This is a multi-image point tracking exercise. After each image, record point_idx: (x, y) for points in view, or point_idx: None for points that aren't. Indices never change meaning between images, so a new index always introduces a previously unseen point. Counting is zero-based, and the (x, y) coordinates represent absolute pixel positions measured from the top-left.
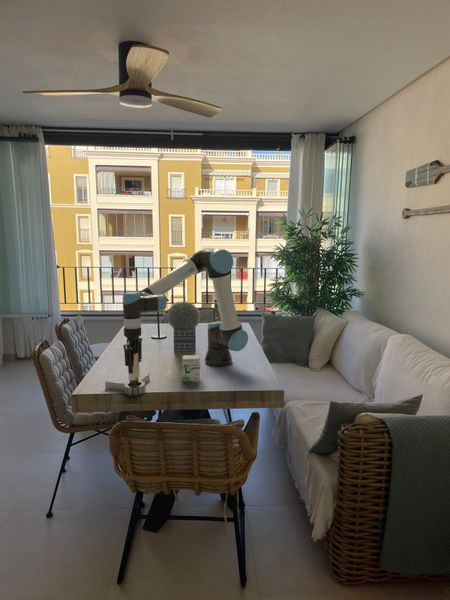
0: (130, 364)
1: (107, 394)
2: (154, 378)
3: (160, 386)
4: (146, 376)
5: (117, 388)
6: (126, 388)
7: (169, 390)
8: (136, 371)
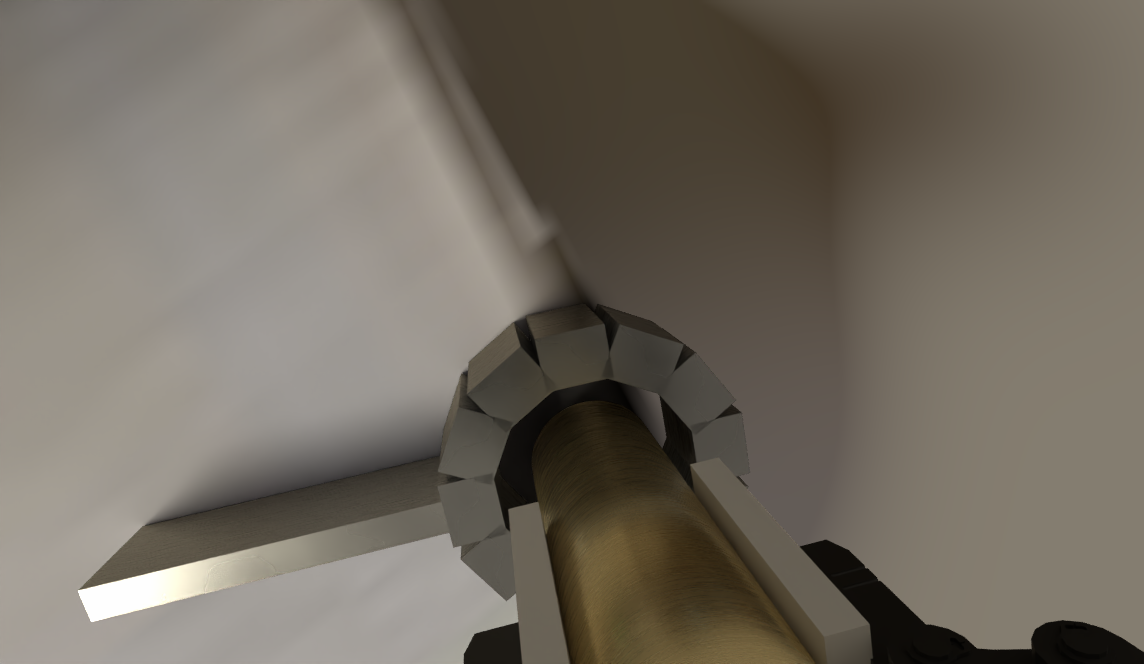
0: (1127, 657)
1: None
2: (29, 517)
3: (257, 237)
4: (207, 554)
5: None
6: None
7: (321, 9)
8: (698, 531)
